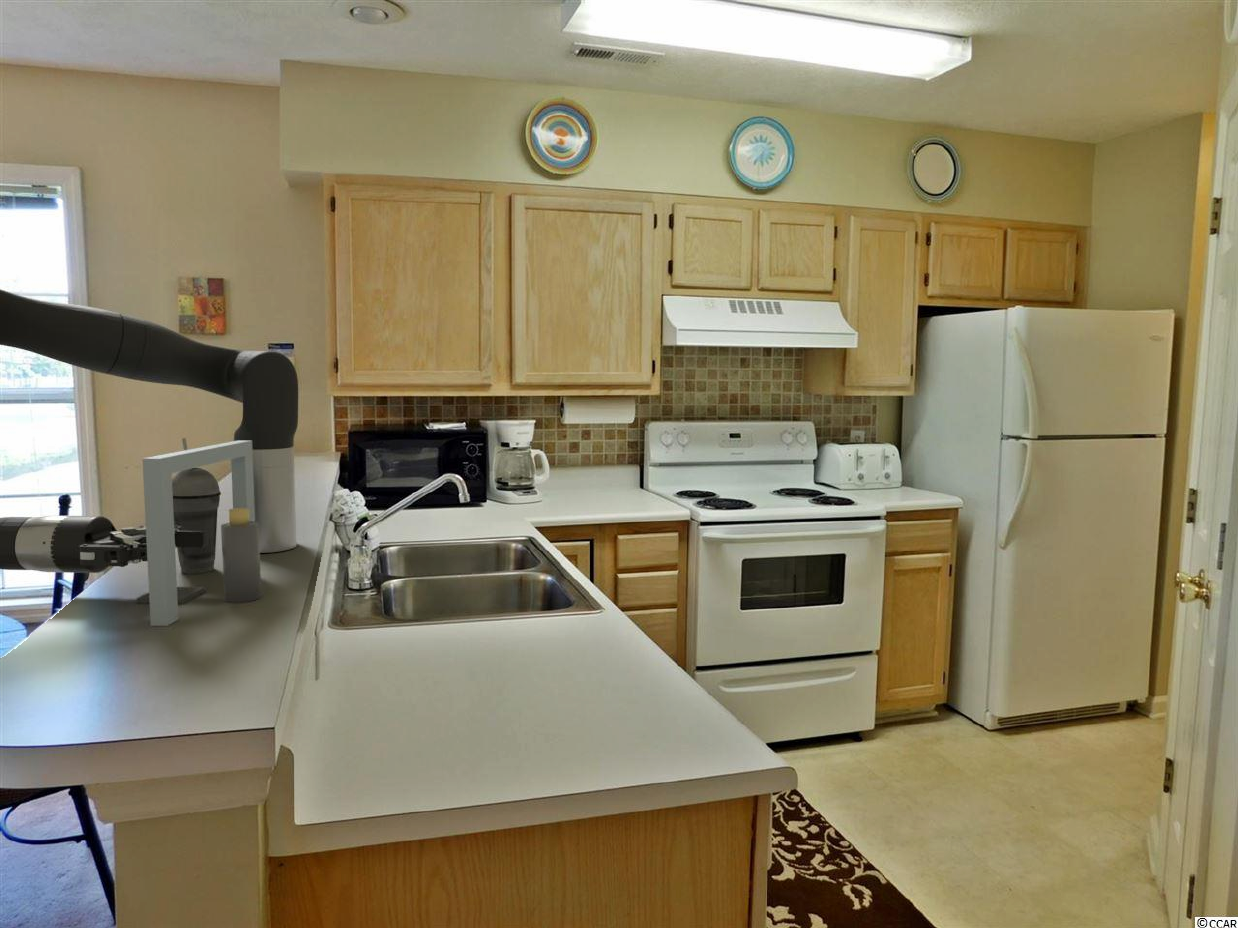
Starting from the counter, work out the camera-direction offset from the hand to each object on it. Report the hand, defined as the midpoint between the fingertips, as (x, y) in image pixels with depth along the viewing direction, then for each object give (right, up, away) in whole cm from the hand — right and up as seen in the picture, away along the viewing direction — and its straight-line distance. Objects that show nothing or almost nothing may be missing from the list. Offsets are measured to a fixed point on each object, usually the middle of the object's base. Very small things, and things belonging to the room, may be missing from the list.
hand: (188, 545), depth 113 cm
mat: (-3, -7, +1) cm, 7 cm away
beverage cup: (-7, -5, +16) cm, 18 cm away
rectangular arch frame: (+2, -7, +1) cm, 7 cm away
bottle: (+7, -7, +1) cm, 10 cm away
